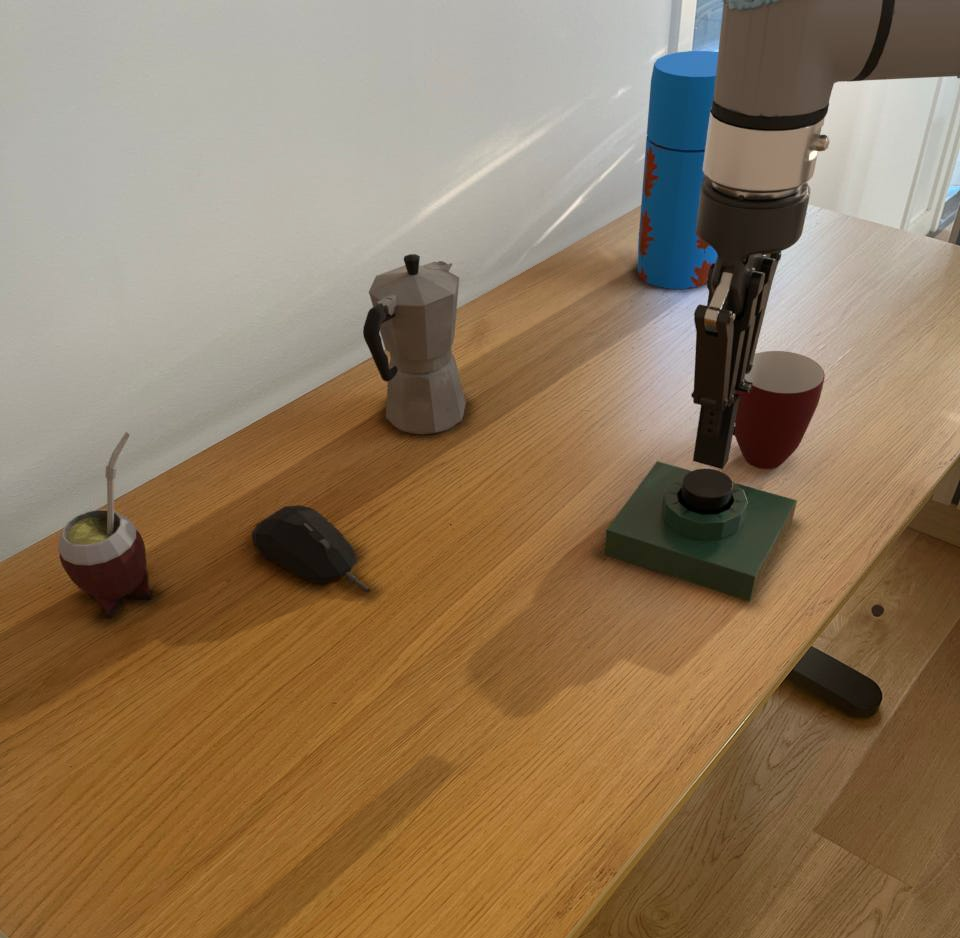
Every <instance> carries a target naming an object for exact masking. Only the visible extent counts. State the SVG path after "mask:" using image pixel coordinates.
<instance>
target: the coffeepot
mask: <svg viewBox="0 0 960 938" xmlns="http://www.w3.org/2000/svg"><path fill="white" fill-rule="evenodd" d="M420 261H421V256H420V255H418V254H417V253H410V254H409V253H408V254H407V255H404V257H403V262H404V265H402V266H399V267H396V268H394V269H390V270H389V271H385V272H383V273H379V274H376V275H375V277H374V279H373V281H372V284H371V286H370V288H369V290H368V295H369V297H370V300H371V304H372V307H371V308H370V309H369V310H368V312H367V315H366V318H365V321H364V324H363V330H362V334H363V339H364V341H365V343H366V345H367V347H368V350H369V352H370V355H371V357H372V359H373V362H374V364H375V366H376V369H377V371H378V373H379V375H380V377H381V379H382V381H383V382H387V389H386V405H385V406H386V407H385V419H386V420H388V422H389V423H390V424H391V425H392V426H393V427H394V428H396V429H398V430H399V431H402V432H405V433H407V434H408V433H409V434H414V435H431V434H438V433H441V432H444V431H448V430H450V429H452V428H453V427H455V426H456V425H457V424H459V423H460V422H462V421H463V417H464V415H465V409H466V405H467V401H466V397H465V393H464V390H463V386H462V381H461V378H460V377H461V376H460V373H459V370H458V366H457V362H456V357H455V356H454V355H453V352H452V351H453V349H452V347H453V344H454V340H455V335H456V323H457V322H456V321H457V310H458V299H459V298H458V297H459V286H460V277H459V276H458V275H456V274H454V273H453V272H451V268H452V266H453V263H451V262H449V263H447V262H445V261H443V260H439V261H432V262H429V263H427V264H423V265H420ZM384 349H385V350H386V351H387V352H388V353H389V357H388V355H387V353H386V352H385V350H384ZM389 358H390V360H389Z"/></svg>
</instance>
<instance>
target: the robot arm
mask: <svg viewBox="0 0 960 938" xmlns="http://www.w3.org/2000/svg"><path fill="white" fill-rule="evenodd" d="M721 1H722V2H723V3H722V14H721V23H720V24H721V25H720V33H719V43H718V50H717V52H718V60H717V70H716V79H715V88H714V97H713V103H712V107H711V110H710V117H709V124H708V131H707V139H706V146H705V154H704V161H703V172H704V175H705V176H706V177H707V178H706V179H705V180H704V181H703V182H702V184H701V191H700V199H699V207H698V215H697V223H696V230H697V233H698V235H699V237H700V238H701V239H702V240H703V241H704V242H705V243H706V244H709V245H710V246H711V247H713V248H714V250H715V251H716V252H717V256H718V257H717V259H716V263H712V264H711V266H710V269H709V273H708V280H707V284H706V287H707V290H708V295H707V297H708V298H707V304H700V303H699V304H698V305H696V308H695V310H694V313H693V316H694V317H693V322H694V327H695V331H696V332H695V333H696V335H695V336H696V337H695V354H694V375H693V377H694V378H693V391H692V392H691V394H690V395H691V398H692V399H693V400H692V402H693V404H694V405H699V406H700V409H699V415H698V416H699V417H698V424H697V430H696V436H695V443H694V450H693V457H692V462H695V463H698V464H701V465H705V466H708V467H712V468H715V469H720V470H723V469H724V468H725V466H726V464H727V463H728V461H729V458H730V453H731V447H732V442H733V436H734V435H733V431H734V426H735V420H736V414H737V409H738V403H739V398H740V395H738V394H736V391H740V392H744V393H748V394H749V392H750V391H751V388H752V385H753V383H752V382H748V381H744V379H745V374H749V372H750V371H751V370H752V367H753V364H752V363H753V359H754V355H755V354H756V350H757V346H758V342H759V339H760V335H761V330H762V326H763V322H764V319H765V314H766V311H767V310H766V309H767V307H768V301H769V297H770V293H771V289H772V285H773V281H774V279H775V278H774V277H775V275H776V272H777V269H778V266H779V262H780V261H781V259H782V251H785V250H787V249H789V248H791V247H793V246H794V245H795V244H797V242H798V241H799V240H800V238H801V237H802V235H803V231H804V226H805V221H806V216H807V212H808V208H809V203H810V197H811V193H812V190H811V187H810V185H809V183H808V182H809V181H810V180H811V179H812V178H813V176H814V174H815V169H816V164H817V158H818V154H819V152H825V151H826V150H828V149H829V145H830V137H829V135H826V134H821V133H822V128H823V126H824V125H825V119H826V116H827V115H828V111H829V106H830V100H831V99H830V98H831V95H832V91H833V88H834V85H835V84H836V83H839V82H841V83H842V82H849V83H850V82H862V81H864V82H865V81H884V80H885V81H886V80H905V79H907V80H908V79H924V78H927V79H928V78H946V77H947V78H949V77H956V78H957V79H960V0H721Z"/></svg>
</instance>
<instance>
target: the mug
mask: <svg viewBox="0 0 960 938" xmlns="http://www.w3.org/2000/svg"><path fill="white" fill-rule="evenodd" d="M752 364H753V367H752V370H751V371H750V372H749V374H745V379H744V381H748V382H752V383H753V385H752V388H751V391H750V392H749V394H748V393H744V392H740V391H736V394H738V395H740V398H739V403H738V409H737V414H736V420H735V425H734V431H733V436H734V438H735V440H736V443H737V445H738V448H739V450H740V453H741V454H742V456H743V459H744V461H745V462H746V463H747V464H748V465H750V466H752V467H753V468H757V469H762V470H772V469H776V468H779V467H780V466H781V465H782V464H784V463H785V461H787V460H788V459H789V458H790V457H791V456H792V455H793V453H794V452H795V451H796V450H797V449H798V447H800V444H801V442H802V441H803V439H804V436H805V434H806V432H807V430H808V427H809V425H810V423H811V421H812V419H813V417H814V415H815V412H816V410H817V408H818V406H819V403H820V400H821V396H822V391H823V386H824V383H825V375H826V374H825V371H824V369H823V368H822V366H821V365H820V364H819V363H818V362H817V361H815V360H813V359H812V358H810V357H808V356H806V355H803V354H799V353H797V352H791V351H782V350H768V351H761V352H757V353H755V355H754V359H753V363H752Z"/></svg>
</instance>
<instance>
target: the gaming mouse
mask: <svg viewBox="0 0 960 938" xmlns="http://www.w3.org/2000/svg"><path fill="white" fill-rule="evenodd" d="M251 540H252V543H253V546H254V547H255V548H256V549H257V550H258V553H260V555H261V556H263V557H265V558H266V559H268V560H269V561H271V562H273V563H275V564H277V565H278V566H280V567H282V568H284V569H285V570H287V571H288V572H290V573H292V574H294V575H295V576H297V577H299V578H302V579H303V580H305V581H307V582H309V583H319V584H327V583H330V582H334V581H336V580H340V579H341V578H343V577H344V579H346V580H347V581H349V582H350V583H351V584H352V585H356V586H357V587H359V588H360V589H362V590H363V591H365V592H366V593H370V591H371V589H370V588H369V587H368V586H366V585H365V584H364V583H363V582H361V581H360V580H359V579H358V577H357V576H355V575H354V574H352V573H350V572H351V571H352V569H353V568H354V566H355V565H356V563H357V561H358V559H357V555H356V552H355V550H354V548H353V547H352V545H351V544H350V543H349V542H348V541H347V539H346V538H345V537H344V535H343V534H342V532H340V531H339V530H338V529H337V527H336V526H335V525H334V524H333V523H332V522H330V521H329V520H328V519H327V518H326V517H325V516H323V515H322V514H321V513H319V512H318V511H317V510H316V509H314V508H311V507H310V506H305V505H299V504H298V505H286V506H283V507H282V508H280V509H278V510H277V511H275V512H274V513H272V514H270V515H269V516H268V517H266V518H264V519H262V520H261V521H259V522H258V523H256V525H255V527H254V528H253V530H252V532H251Z"/></svg>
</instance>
